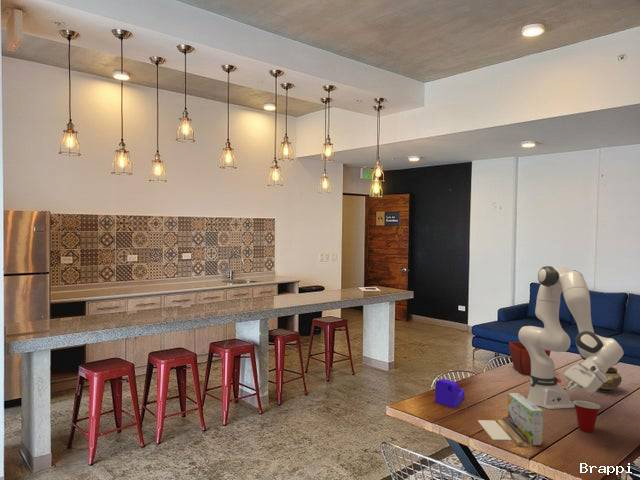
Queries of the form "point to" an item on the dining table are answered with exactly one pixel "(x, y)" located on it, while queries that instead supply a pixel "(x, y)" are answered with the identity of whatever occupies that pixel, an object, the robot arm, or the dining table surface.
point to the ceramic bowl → (611, 380)
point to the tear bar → (512, 432)
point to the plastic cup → (586, 415)
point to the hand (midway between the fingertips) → (568, 390)
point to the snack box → (526, 418)
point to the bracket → (448, 393)
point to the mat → (494, 430)
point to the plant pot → (521, 357)
